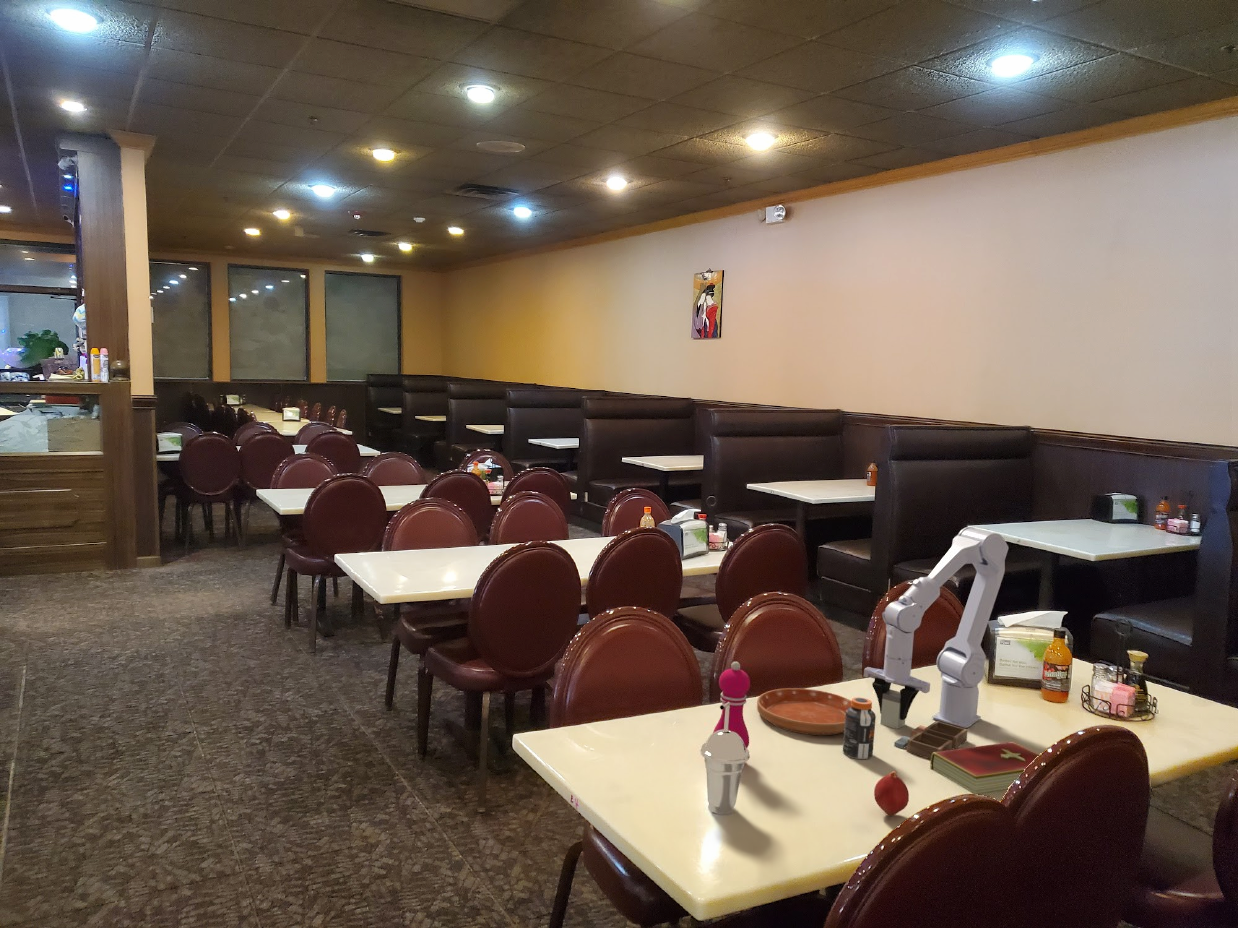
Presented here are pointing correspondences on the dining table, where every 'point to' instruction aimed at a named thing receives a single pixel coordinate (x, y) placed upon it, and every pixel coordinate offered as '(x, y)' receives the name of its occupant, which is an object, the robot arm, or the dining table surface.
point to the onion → (891, 794)
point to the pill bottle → (859, 729)
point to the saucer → (804, 710)
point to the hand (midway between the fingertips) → (893, 715)
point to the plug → (891, 709)
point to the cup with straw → (724, 766)
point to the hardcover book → (983, 765)
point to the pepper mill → (734, 700)
